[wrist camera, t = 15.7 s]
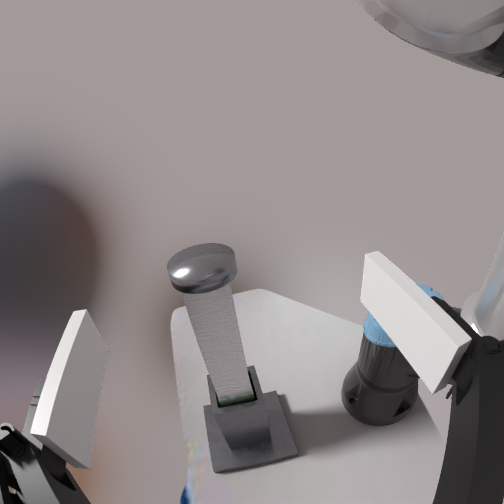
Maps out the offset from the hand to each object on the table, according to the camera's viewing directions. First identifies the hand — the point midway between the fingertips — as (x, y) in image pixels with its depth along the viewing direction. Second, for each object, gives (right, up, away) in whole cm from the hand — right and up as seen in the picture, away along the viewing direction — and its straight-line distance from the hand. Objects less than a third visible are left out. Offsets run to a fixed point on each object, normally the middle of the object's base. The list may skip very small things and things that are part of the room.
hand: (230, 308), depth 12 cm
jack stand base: (0, -29, +30) cm, 42 cm away
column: (-1, -22, +27) cm, 35 cm away
